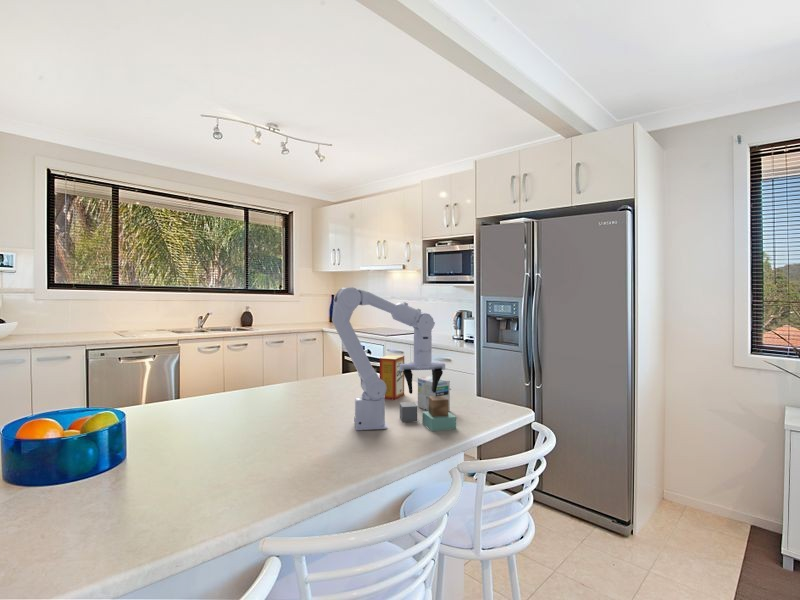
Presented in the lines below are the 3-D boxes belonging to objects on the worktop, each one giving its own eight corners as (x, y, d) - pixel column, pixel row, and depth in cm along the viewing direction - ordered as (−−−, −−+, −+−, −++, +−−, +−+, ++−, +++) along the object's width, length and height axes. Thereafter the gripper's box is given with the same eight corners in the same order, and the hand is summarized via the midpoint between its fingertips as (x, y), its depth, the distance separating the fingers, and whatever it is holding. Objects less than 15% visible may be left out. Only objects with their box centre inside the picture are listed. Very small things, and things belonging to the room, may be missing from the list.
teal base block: (431, 432, 128) (431, 419, 128) (422, 424, 136) (422, 411, 136) (456, 429, 131) (456, 416, 130) (445, 422, 138) (445, 409, 138)
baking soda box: (389, 392, 176) (389, 353, 175) (404, 394, 173) (404, 354, 173) (379, 398, 167) (379, 357, 167) (395, 399, 165) (395, 358, 164)
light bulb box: (450, 410, 150) (450, 380, 150) (435, 414, 146) (435, 382, 146) (431, 404, 159) (431, 375, 158) (416, 406, 155) (416, 377, 155)
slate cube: (402, 422, 137) (402, 406, 137) (399, 417, 142) (399, 402, 142) (417, 421, 138) (417, 406, 138) (414, 417, 143) (414, 402, 142)
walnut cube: (432, 416, 130) (432, 400, 130) (428, 412, 135) (428, 396, 135) (448, 416, 131) (448, 399, 131) (443, 411, 136) (444, 395, 136)
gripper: (402, 352, 132) (402, 396, 132) (447, 351, 134) (447, 394, 134) (398, 349, 139) (398, 391, 139) (442, 348, 141) (441, 389, 141)
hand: (422, 392), depth 137 cm, fingers open, 7 cm apart
